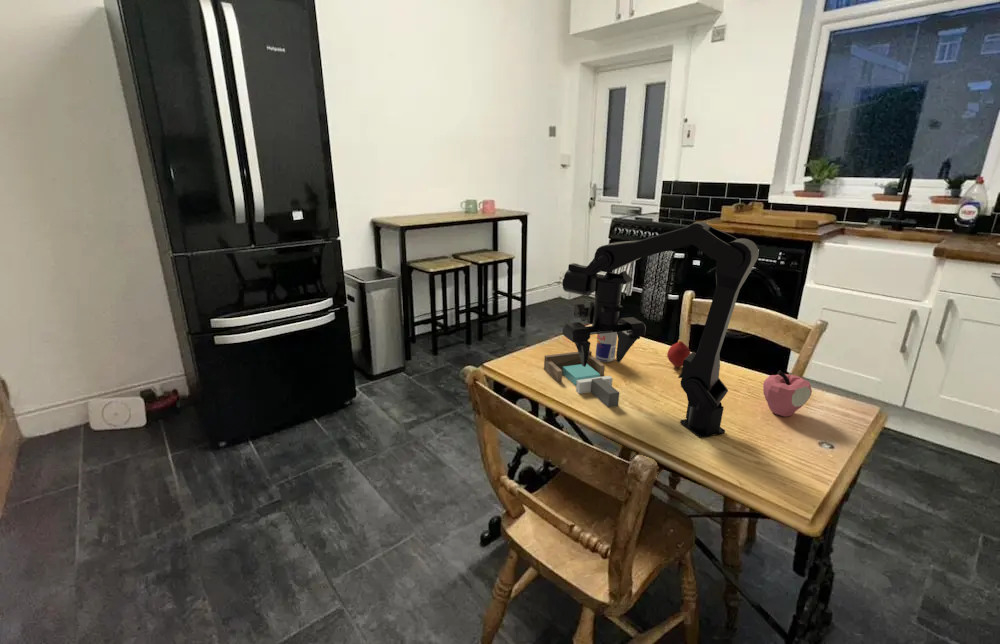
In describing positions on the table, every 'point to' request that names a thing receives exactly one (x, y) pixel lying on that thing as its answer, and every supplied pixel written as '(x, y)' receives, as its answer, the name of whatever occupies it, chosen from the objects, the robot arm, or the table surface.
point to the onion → (678, 353)
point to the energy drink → (606, 346)
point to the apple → (786, 393)
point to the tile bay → (569, 364)
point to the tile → (579, 373)
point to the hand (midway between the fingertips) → (601, 363)
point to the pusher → (599, 389)
